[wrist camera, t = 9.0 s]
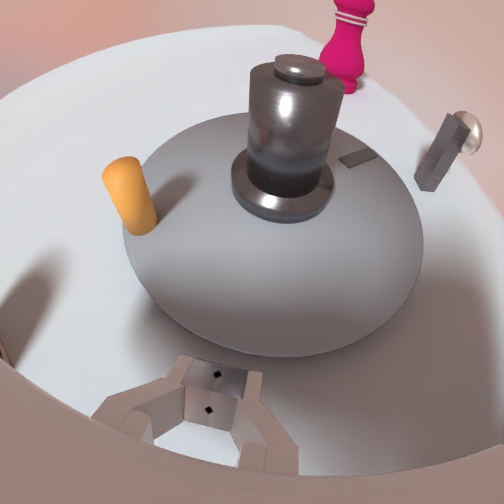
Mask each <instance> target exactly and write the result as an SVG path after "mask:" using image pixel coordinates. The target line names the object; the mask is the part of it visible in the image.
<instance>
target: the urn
mask: <svg viewBox="0 0 504 504" xmlns="http://www.w3.org/2000/svg"><path fill="white" fill-rule="evenodd" d="M325 68H326V65H325V64H324V63H322V62H321V61H319V60H316V59H314V58H311V57H307V56H302V55H294V54H284V55H279V56H276V57H275V62H271V63H265V64H261V65H258V66H256V67H254V68H253V69H252V70H251V72H250V91H249V114H248V139H247V148H246V149H244V150H243V151H242V152H240V153H239V154H238V155H237V156H236V158H235V159H234V161H233V163H232V167H231V188H232V192H233V195H234V197H235V199H236V200H237V202H238V203H239V204H240V205H241V207H242V208H244V209H245V210H246V211H247V212H249V213H250V214H252V215H254V216H256V217H258V218H260V219H263V220H265V221H269V222H273V223H280V224H295V223H301V222H305V221H308V220H310V219H312V218H314V217H316V216H317V215H319V214H320V213H321V212H322V211H323V210H324V209H325V207H326V205H327V203H328V201H329V198H330V195H331V193H332V190H333V186H334V177H333V174H332V171H331V169H330V167H329V166H328V164H327V163H326V162H325V161H326V157H327V154H328V150H329V147H330V143H331V140H332V136H333V133H334V129H335V125H336V122H337V118H338V114H339V111H340V107H341V103H342V99H343V95H344V91H345V85H344V83H343V82H342V81H341V80H340V79H339V78H337V77H336V76H334V75H333V74H331V73H329V72H327V71H325Z"/></svg>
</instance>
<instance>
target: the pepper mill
mask: <svg viewBox="0 0 504 504" xmlns="http://www.w3.org/2000/svg"><path fill="white" fill-rule="evenodd" d="M334 3H335V5H336V6H337V8H338V10H335V16H334V17H335V18H336V29H335V33H334V34H333V36H332V38H331V40H330V41H329V42H328V44H327V45H326V46H325V47H324V48H323V50H322V52H321V54H320V57H319V61H321V62H322V63H324V64H325V65H326V68H325V71H327V72H329V73H331V74H333V75H334V76H336V77H337V78H339V79H340V80H341V81H342V82H343V83H344V85H345V91H344V94H351V93H354V92H355V90H356V86H357V81H356V80H355V79H356V78H358V77H359V76H361V75H362V74H363V72H364V58H363V53H362V49H361V34H362V31H363V28H364V26H367V21H368V19H367V18H366V17H367V16H368V15H369V14H371V13H372V12H373V11H374V7H375V3H374V0H334Z"/></svg>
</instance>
